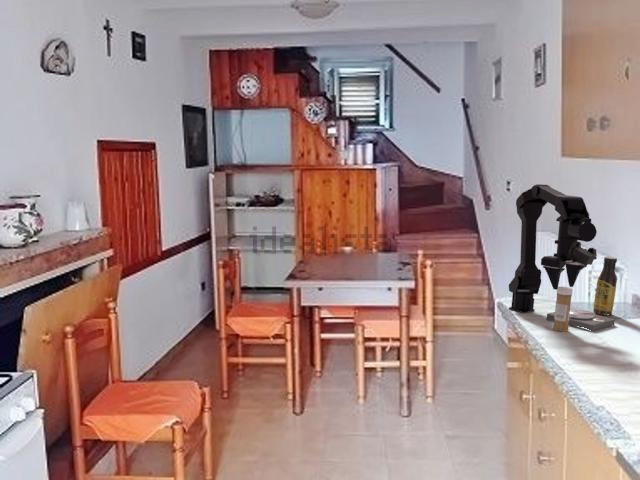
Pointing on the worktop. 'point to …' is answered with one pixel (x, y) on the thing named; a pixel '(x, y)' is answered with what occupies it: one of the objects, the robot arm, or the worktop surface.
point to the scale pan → (581, 314)
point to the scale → (588, 322)
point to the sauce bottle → (606, 288)
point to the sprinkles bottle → (562, 308)
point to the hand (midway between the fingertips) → (563, 288)
